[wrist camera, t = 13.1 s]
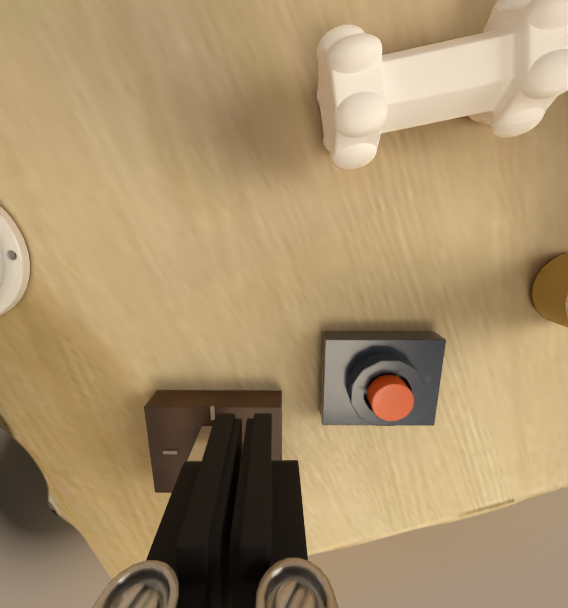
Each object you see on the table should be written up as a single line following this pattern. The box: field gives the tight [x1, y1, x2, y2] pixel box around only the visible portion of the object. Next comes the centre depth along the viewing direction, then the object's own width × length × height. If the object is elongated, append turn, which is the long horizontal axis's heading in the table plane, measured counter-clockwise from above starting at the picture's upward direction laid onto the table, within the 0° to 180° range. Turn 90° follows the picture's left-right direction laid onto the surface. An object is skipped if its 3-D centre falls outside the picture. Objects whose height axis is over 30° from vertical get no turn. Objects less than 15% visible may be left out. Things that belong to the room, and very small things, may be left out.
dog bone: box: [317, 0, 568, 170], centre depth 21 cm, size 15×9×8 cm, turn 101°
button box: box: [320, 332, 446, 426], centre depth 29 cm, size 11×9×4 cm
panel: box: [144, 390, 282, 493], centre depth 32 cm, size 13×10×3 cm
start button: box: [367, 374, 414, 421], centre depth 27 cm, size 4×4×2 cm
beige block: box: [187, 426, 212, 461], centre depth 28 cm, size 6×2×5 cm, turn 0°
